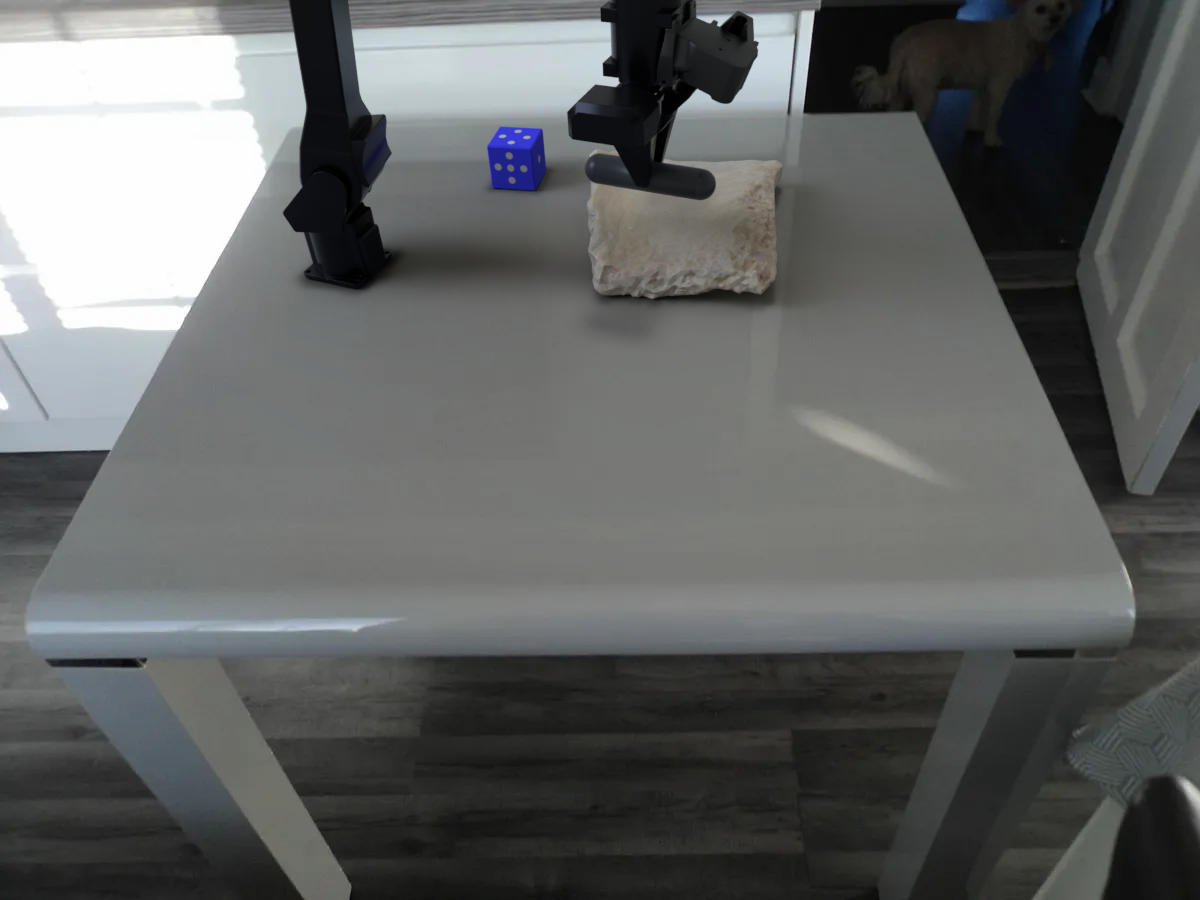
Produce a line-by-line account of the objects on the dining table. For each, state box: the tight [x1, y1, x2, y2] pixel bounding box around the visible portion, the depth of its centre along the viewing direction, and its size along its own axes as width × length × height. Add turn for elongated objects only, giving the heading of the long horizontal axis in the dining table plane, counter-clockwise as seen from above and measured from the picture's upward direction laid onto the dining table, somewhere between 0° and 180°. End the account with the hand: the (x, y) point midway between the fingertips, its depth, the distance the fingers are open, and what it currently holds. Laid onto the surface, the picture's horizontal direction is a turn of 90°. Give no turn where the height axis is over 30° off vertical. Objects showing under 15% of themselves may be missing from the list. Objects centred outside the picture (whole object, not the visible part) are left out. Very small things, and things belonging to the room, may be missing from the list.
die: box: [486, 126, 547, 192], centre depth 101 cm, size 5×5×5 cm
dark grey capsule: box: [584, 153, 716, 200], centre depth 79 cm, size 12×3×3 cm, turn 67°
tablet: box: [586, 148, 784, 300], centre depth 89 cm, size 24×8×20 cm
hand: (648, 179), depth 79 cm, fingers closed on dark grey capsule, 2 cm apart
